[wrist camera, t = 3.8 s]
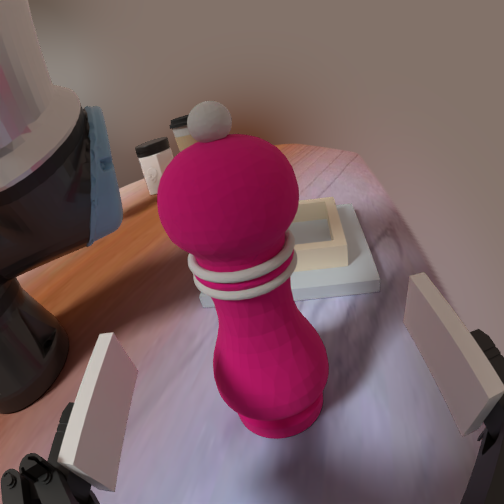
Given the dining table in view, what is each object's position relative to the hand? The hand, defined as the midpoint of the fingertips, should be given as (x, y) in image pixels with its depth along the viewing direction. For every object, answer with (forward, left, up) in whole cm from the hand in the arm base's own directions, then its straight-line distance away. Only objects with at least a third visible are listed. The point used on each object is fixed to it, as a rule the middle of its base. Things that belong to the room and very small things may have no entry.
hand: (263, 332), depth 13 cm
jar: (-57, +36, -11) cm, 69 cm away
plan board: (-12, +20, -11) cm, 26 cm away
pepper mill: (-2, +2, -11) cm, 12 cm away
